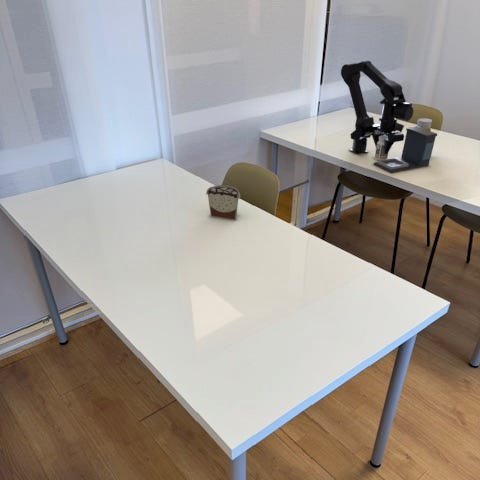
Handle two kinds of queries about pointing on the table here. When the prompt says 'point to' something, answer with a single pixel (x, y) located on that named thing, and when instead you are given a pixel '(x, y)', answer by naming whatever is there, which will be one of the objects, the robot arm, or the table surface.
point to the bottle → (424, 123)
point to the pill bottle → (381, 148)
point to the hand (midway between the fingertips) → (381, 152)
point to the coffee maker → (411, 151)
